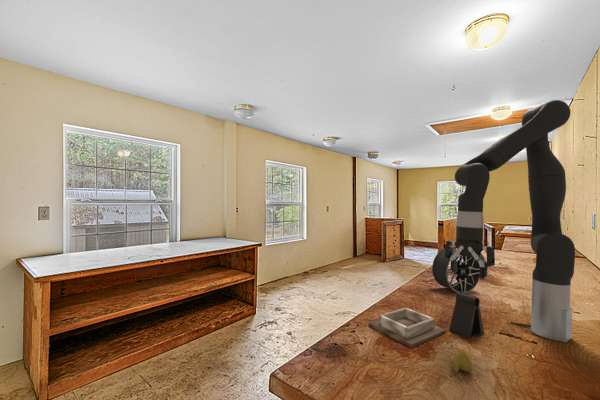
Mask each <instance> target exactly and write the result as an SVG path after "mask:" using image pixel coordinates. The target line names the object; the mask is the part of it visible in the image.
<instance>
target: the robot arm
mask: <svg viewBox="0 0 600 400" xmlns="http://www.w3.org/2000/svg"><path fill="white" fill-rule="evenodd" d="M570 116H571V108H570V106H569V104H567V102H565V101H562V100H560V99H553V100H548V101H545V102H544V103H541V104H539V105H536V106H534V107H531V108H529V109H528V110H527V111H525V112H524V114H523V115H522V118H521V126H520V127H519V128H517V129H516V130H514V131H513V132H510V133H509V134H507V135H505V136H503V137H502V138H500V139H499V140H497V141H495V142H494V143H493V144H491V145H490V146H489V147H488V148H486V149H485V150H484V151H483V152H482V153H480V154H478V156H475V157H474V158H472V159H470V160H469V161H467V162H465V163H463V164H461V166H459V167H458V169H456V171H455V172H454V181H455V182H456V183H457V184H458V185H459V186H462V187H465V189H464V192H463V193H461V194H459V196H458V199H457V214H456V221H455V225H456V227H455V239H456V240H455V241H453V240H446V243H445V248H446V249H445V258H448V259H450V268H449V269H451V270H452V271H451V272H452V274H454V273H456V272H457V266H458V261H457V259H458V260H459V258H460V256H468V257H471V258H475V260H476V261H478V263H479V264H480V266H481V267H480V276H479V278H480V279H479V280H484V279H485V278H487V277H488V268H489V267H493V266H495V264H496V263H495V261H496V259H495V258H496V257H495V256H496V255H495V247H494V246H493V245H491V246H484V243H483V242H484V220H485V219H484V198H485V196H486V193H487V190H488V187H489V183H490V178H491V176H490V175H491V174H490V172H493V171H496V170H498V169H499V168H501V167H502V166H503V165H505V164H507V163H508V162H509V161H510V160H511V159H512V158H514V157H515V156H517V155H518V154H519V153H521V151H524V150H526V151H525V152H526V159H527V160H526V163H527V178H528V182H527V183H528V194H529V202H530V210H531V232H530V247H531V249H532V251H533V252H534V253H535V255H536V257H535V266H534V269H533V270H532V273H531V274H532V275H531V276H532V278H531V283H532V284H531V285H532V286H531V317H530V331H531V333H534V334H535V335H537V336H539V337H542V338H545V339H549V340H552V341H557V342H561V343H565V344H566V343H567V342H568V341H570V340H571V339H572V338H573V337H572V335H573V331H572V330H573V308H572V307H571V285H572V278H573V277H574V273H575V265H576V264H575V263H576V246H575V243H574V241H573V240H572V239H571V238H570V237H569V236H567V235H566V234H563V230H562V223H561V213H562V208H563V206H564V202H565V199H566V193H567V179H566V178H567V177H566V170H565V167H564V166H563V164H562V163H561V162H560V160H559V159H558V158H557V156H556V155H555V154H554V152H553V151H552V150H551V147H550V144H549V133H552V132H553V131H554V130H556V129H559V128H561V127H563V126H564V125H565V124H566V123H567V122H568V121H569V120H570ZM453 248H455V249H457V251H456V252H455V253H454V254H453V256H452V251H453ZM483 251H484V253H485V254H486V259H485V257H484V255H483V254H482V252H483Z"/></svg>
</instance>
